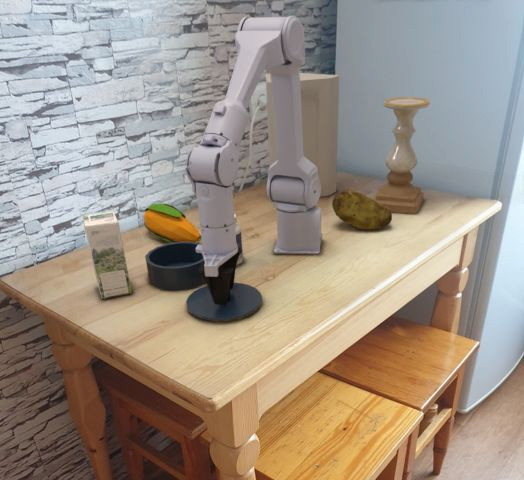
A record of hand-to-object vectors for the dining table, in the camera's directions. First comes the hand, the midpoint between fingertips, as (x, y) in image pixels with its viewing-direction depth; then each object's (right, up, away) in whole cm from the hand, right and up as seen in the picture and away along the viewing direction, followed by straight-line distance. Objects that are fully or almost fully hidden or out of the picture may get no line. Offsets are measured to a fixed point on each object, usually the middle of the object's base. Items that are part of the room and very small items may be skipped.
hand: (224, 295), depth 99 cm
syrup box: (-21, +1, +7) cm, 22 cm away
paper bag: (+15, +32, +51) cm, 62 cm away
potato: (+29, +18, +29) cm, 45 cm away
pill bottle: (0, +8, +16) cm, 18 cm away
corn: (-13, +15, +27) cm, 34 cm away
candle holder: (+40, +26, +40) cm, 62 cm away
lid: (0, -1, +1) cm, 1 cm away
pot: (-9, +5, +12) cm, 16 cm away
